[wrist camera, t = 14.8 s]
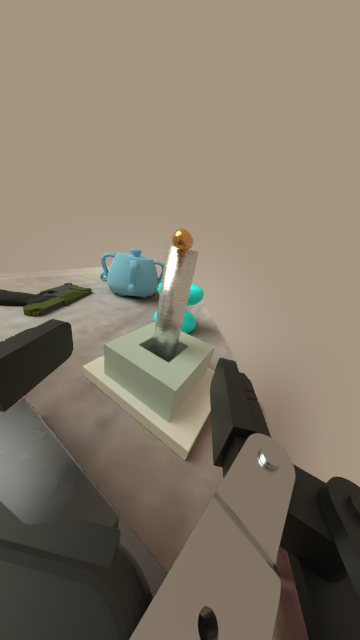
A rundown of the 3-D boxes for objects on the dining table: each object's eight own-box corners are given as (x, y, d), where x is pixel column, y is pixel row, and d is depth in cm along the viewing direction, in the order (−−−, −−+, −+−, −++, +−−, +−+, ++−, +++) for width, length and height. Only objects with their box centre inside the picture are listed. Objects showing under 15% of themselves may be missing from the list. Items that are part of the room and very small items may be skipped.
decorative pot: (138, 284, 66) (141, 247, 60) (167, 298, 57) (173, 256, 52) (96, 287, 54) (95, 241, 49) (124, 305, 46) (127, 251, 40)
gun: (44, 284, 50) (94, 295, 50) (-35, 304, 32) (42, 322, 33) (43, 275, 49) (95, 287, 49) (-40, 292, 31) (41, 310, 32)
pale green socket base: (82, 374, 22) (80, 336, 20) (145, 340, 32) (148, 312, 30) (185, 460, 16) (200, 419, 13) (224, 385, 25) (237, 353, 23)
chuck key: (167, 394, 20) (202, 232, 13) (140, 388, 20) (162, 223, 13) (174, 360, 26) (201, 237, 19) (154, 356, 26) (174, 232, 19)
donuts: (149, 281, 33) (172, 276, 42) (144, 325, 38) (166, 312, 46) (195, 295, 30) (210, 287, 39) (184, 342, 34) (200, 325, 43)
